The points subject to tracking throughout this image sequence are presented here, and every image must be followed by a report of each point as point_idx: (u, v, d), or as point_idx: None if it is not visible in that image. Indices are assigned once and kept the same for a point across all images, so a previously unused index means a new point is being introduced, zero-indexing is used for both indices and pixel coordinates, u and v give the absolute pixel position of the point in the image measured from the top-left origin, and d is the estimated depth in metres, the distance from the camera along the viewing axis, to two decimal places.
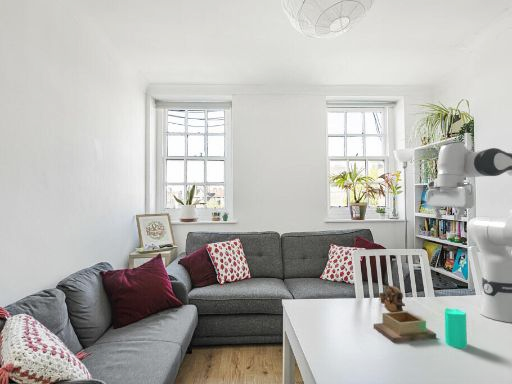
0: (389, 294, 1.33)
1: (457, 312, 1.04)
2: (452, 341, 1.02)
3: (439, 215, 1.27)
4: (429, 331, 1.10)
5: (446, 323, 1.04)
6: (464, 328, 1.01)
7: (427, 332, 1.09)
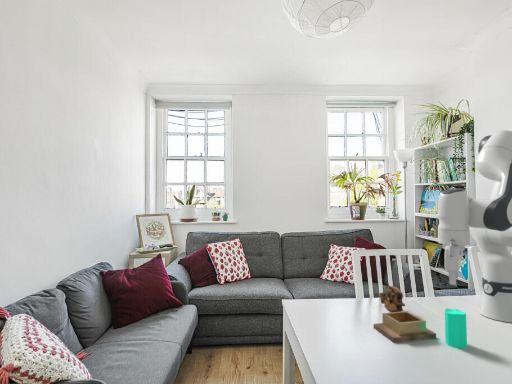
0: (389, 294, 1.33)
1: (457, 312, 1.04)
2: (452, 341, 1.02)
3: None
4: (429, 331, 1.10)
5: (446, 323, 1.04)
6: (464, 328, 1.01)
7: (427, 332, 1.09)
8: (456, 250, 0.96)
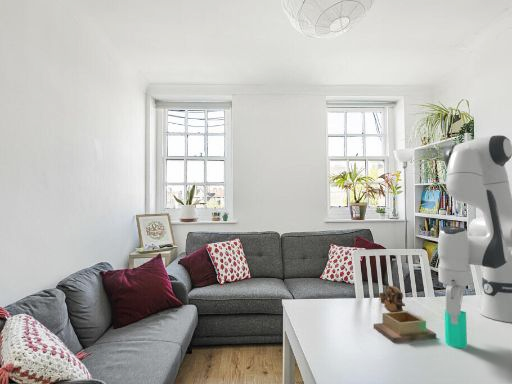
0: (389, 294, 1.33)
1: None
2: (452, 341, 1.02)
3: None
4: (429, 331, 1.10)
5: (446, 323, 1.04)
6: (464, 328, 1.01)
7: (427, 332, 1.09)
8: (457, 293, 0.96)
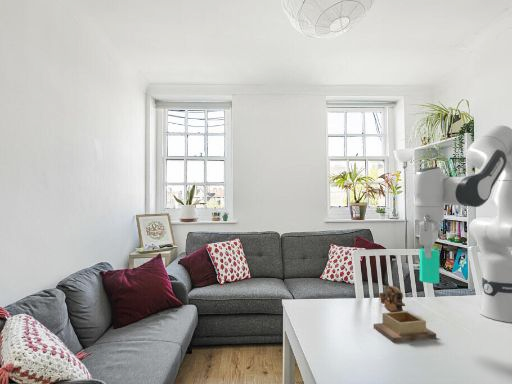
0: (389, 294, 1.33)
1: (431, 251, 1.08)
2: (425, 277, 1.06)
3: None
4: (429, 331, 1.10)
5: (420, 261, 1.08)
6: (437, 265, 1.05)
7: (427, 332, 1.09)
8: (430, 224, 1.00)
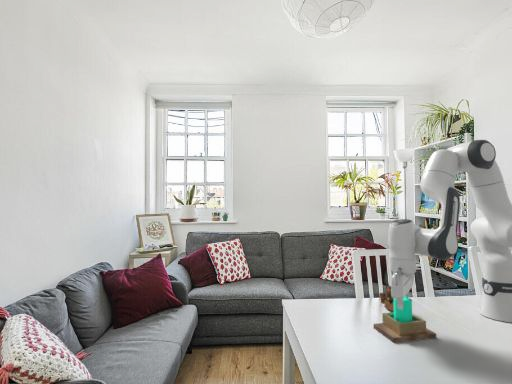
0: (389, 294, 1.33)
1: (404, 299, 1.13)
2: None
3: None
4: (429, 331, 1.10)
5: (394, 309, 1.13)
6: (409, 314, 1.10)
7: (427, 332, 1.09)
8: (401, 279, 1.05)
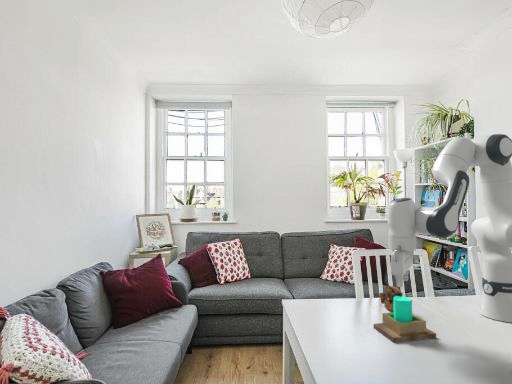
0: (389, 294, 1.33)
1: (404, 299, 1.13)
2: None
3: (404, 277, 1.16)
4: (429, 331, 1.10)
5: (394, 309, 1.13)
6: (409, 314, 1.10)
7: (427, 332, 1.09)
8: (400, 255, 1.05)
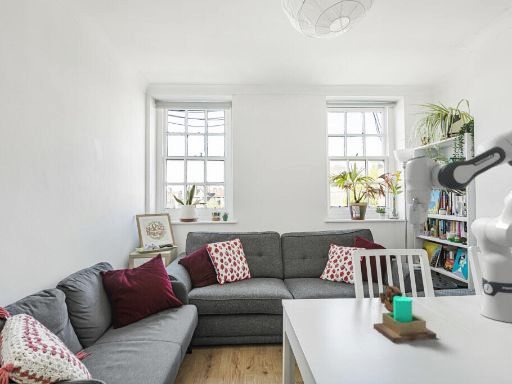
0: (389, 294, 1.33)
1: (404, 299, 1.13)
2: None
3: (420, 230, 1.27)
4: (429, 331, 1.10)
5: (394, 309, 1.13)
6: (409, 314, 1.10)
7: (427, 332, 1.09)
8: (418, 205, 1.15)
